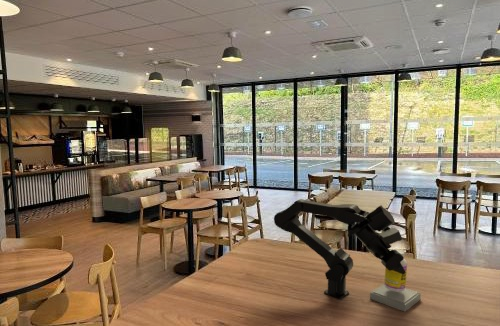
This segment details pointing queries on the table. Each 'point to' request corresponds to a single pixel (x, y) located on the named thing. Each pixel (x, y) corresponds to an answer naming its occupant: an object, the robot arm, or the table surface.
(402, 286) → the supplement bottle
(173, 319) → the table surface
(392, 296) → the slate base
